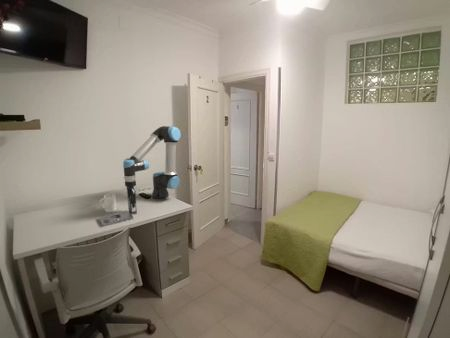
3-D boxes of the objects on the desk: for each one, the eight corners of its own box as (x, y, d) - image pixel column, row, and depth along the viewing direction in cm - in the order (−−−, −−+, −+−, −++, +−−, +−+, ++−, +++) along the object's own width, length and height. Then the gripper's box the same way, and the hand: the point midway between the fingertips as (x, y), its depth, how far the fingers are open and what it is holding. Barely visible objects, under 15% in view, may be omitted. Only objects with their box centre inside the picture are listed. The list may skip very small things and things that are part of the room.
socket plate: (127, 212, 177) (127, 209, 176) (133, 219, 166) (133, 215, 166) (98, 219, 164) (97, 216, 164) (102, 226, 154) (102, 223, 153)
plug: (134, 211, 179) (133, 194, 176) (136, 212, 176) (135, 195, 173) (128, 212, 177) (127, 195, 174) (130, 214, 173) (129, 196, 170)
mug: (101, 213, 174) (99, 198, 172) (99, 209, 181) (98, 195, 179) (117, 210, 181) (116, 195, 178) (115, 206, 188) (114, 192, 185)
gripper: (121, 178, 175) (124, 207, 180) (128, 184, 162) (131, 215, 167) (131, 177, 180) (133, 205, 185) (139, 182, 166) (141, 212, 172)
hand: (132, 210), depth 176 cm, fingers closed on plug, 4 cm apart
